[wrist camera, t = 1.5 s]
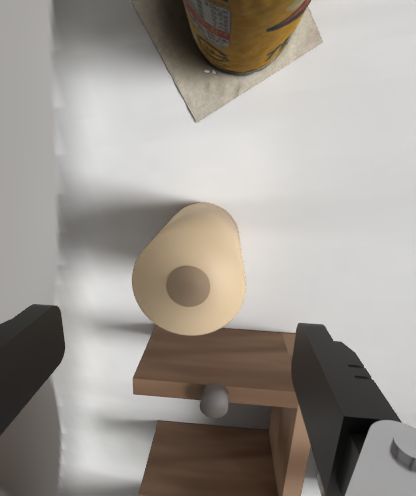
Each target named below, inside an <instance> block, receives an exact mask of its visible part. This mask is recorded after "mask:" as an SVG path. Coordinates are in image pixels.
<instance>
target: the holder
mask: <svg viewBox="0 0 416 496" xmlns="http://www.w3.org/2000/svg"><path fill="white" fill-rule="evenodd" d="M295 336H296V334H294V333H280V332H267V331H253V330H239V329H226V328H220V329H218V330H216V331H214V332H211V333H208V334H203V335H195V336H192V335H180V334H176V333H173V332H170V331H167V330H165V329H163V328H161V327H159V326H158V325H156V326H155V328H154V330H153V333H152V335H151V337H150V340H149V342H148V344H147V347H146V349H145V351H144V353H143V356H142V358H141V360H140V363H139V365H138V367H137V370H136V372H135V374H134V377H133V394H136V395H147V396H159V397H171V398H182V399H194V400H201V402H200V409H201V411H202V413H203V414H204V415H206V416H207V417H210V418H220V417H222V416H224V415H225V414H226V413H227V411H228V402H229V403H240V404H252V405H263V406H272V409H271V416H270V423H269V430H268V431H267V430H256V429H245V428H234V427H223V426H212V425H201V424H190V423H179V422H168V421H158V423H157V427H156V431H155V435H154V438H153V442H152V446H151V450H150V453H149V457H148V461H147V465H146V468H145V472H144V476H143V480H142V484H141V487H140V491H139V496H301V492H302V487H303V482H304V477H305V472H306V467H307V463H308V458H309V453H310V448H311V444H310V441H309V437H308V434H307V431H306V427H305V424H304V421H303V417H302V414H301V410H300V407H299V404H298V400H297V397H296V393H295V390H294V387H293V383H292V376H291V363H292V356H293V349H294V342H295Z"/></svg>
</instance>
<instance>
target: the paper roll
mask: <svg viewBox="0 0 416 496" xmlns="http://www.w3.org/2000/svg"><path fill="white" fill-rule="evenodd" d="M132 287H133V292H134V296H135V298H136V301H137V303H138V305H139V307H140V308H141V310H142V311H143V312H144V314H145V315H146V316H147V317H148V318H149V319H150V320H151V321H152V322H154V323H155V324H156V325H158V326H159V327H161V328H163V329H165V330H167V331H170V332H173V333H176V334H180V335H192V336H195V335H203V334H208V333H211V332H214V331H216V330H218V329H220V328H222V327H223V326H225V325H226V324H227V323H229V322H230V321H231V320H232V319H233V318H234V317H235V316H236V314H237V313H238V311H239V310H240V308H241V306H242V304H243V301H244V298H245V292H246V280H245V272H244V266H243V259H242V252H241V245H240V238H239V231H238V228H237V225H236V223H235V221H234V219H233V218H232V217H231V215H230V214H229V213H228V212H227V211H225V210H224V209H223V208H221V207H219V206H217V205H214V204H211V203H194V204H190V205H188V206H186V207H184V208H182V209H181V210H180V211H178V212H177V213H176V215H175V216H174V217H173V218H172V219H171V220H170V221H169V222H168V223H167V224H166V225H165V227H164V228H163V229H162V230H161V231H160V232H159V233H158V234H157V235H156V236H155V237H154V239H153V240H152V241H151V242H150V243H149V244H148V245H147V246H146V247H145V248H144V249H143V251H142V252H141V253H140V255H139V256H138V258H137V260H136V262H135V265H134V269H133V274H132Z"/></svg>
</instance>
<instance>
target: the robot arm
mask: <svg viewBox="0 0 416 496" xmlns="http://www.w3.org/2000/svg"><path fill="white" fill-rule="evenodd" d="M64 352H65V341H64V333H63V325H62V317H61V311H60V309H59V307H58V306H53V305H38V304H33V305H31V306H29V307H28V308H26V309H25V310H24V311H22V312H21V313H20V314H18V315H17V316H15V317H14V318H13V319H11V320H8V321H6V322H4V323H2V324H0V435H1V434H2V433H3V432H4V430H5V429H6V428H7V427H8V426H9V424H10V423H11V422H12V421H13V420H14V418H15V417H16V416H17V415H18V414H19V412H20V411H21V410H22V409H23V407H24V406H25V405H26V404H27V403H28V402H29V400H30V399H31V398H32V397H33V395H34V394H35V393H36V392H37V391H38V390H39V388H40V387H41V386H42V385H43V383H44V382H45V381H46V380H47V379H48V378H49V376H50V375H51V374H52V373H53V372H54V370H55V369H56V368H57V367H58V366H59V364H60V363H61V361H62V358H63V356H64ZM291 376H292V383H293V387H294V390H295V393H296V397H297V400H298V404H299V407H300V410H301V414H302V417H303V421H304V424H305V427H306V431H307V434H308V437H309V441H310V444H311V448H312V451H313V454H314V458H315V461H316V465H317V468H318V471H319V475H320V478H321V482H322V485H323V488H324V492H325V495H326V496H416V429H415V428H413V427H411V426H409V425H406V424H404V423H402V422H401V421H400V419H399V418H398V416H397V415H396V413H395V412H394V410H393V409H392V407H391V406H390V404H389V403H388V401H387V400H386V398H385V397H384V395H383V394H382V392H381V391H380V389H379V388H378V386H377V385H376V383H375V382H374V380H372V379H371V376H370V374H369V373H368V371H367V370H366V368H364V365H363V364H362V362H361V361H360V359H359V358H358V356H357V355H356V353H355V352H353V351H352V350H351V349H350V348H348V347H347V346H346V345H345V344H343V343H342V342H337V341H333V339H332V338H331V336H330V334H329V333H328V331H327V329H326V328H325V326H324V325H322V324H308V323H299V324H298V326H297V329H296V336H295V342H294V349H293V356H292V363H291Z"/></svg>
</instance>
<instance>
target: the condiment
mask: <svg viewBox="0 0 416 496" xmlns="http://www.w3.org/2000/svg"><path fill="white" fill-rule="evenodd" d="M310 2H311V0H135V1H134V2H133V3H132V4H133V6H134V7H135V9H136V11H137V13H138V15H139V17H140V18H141V20H142V22H143V24H144V26H145V28H146V30H147V31H148V33H149V35H150V37H151V39H152V41H153V42H154V44H155V46H156V48H157V50H158V52H159V54H160V55H161V57H162V59H163V61H164V63H165V65H166V67H167V68H168V70H169V72H170V74H171V75H172V77H173V80H174V81H175V83H176V85H177V87H178V88H179V91H180V92H181V94H182V96H183V98H184V100H185V102H186V104H187V105H188V107H189V109H190V111H191V113H192V115H193V117H194V118H195V120H196V122H199V121H200V120H202V119H203V118H205V117H206V116H208V115H209V114H211V113H213V112H214V111H216V110H217V109H219V108H220V107H222V106H223V105H225V104H227V103H228V102H230V101H231V100H233V99H235V98H236V97H238V96H239V95H241V94H242V93H244V92H246V91H247V90H249V89H250V88H252V87H254V86H255V85H257V84H258V83H260V82H262V81H263V80H265V79H266V78H268V77H269V76H271V75H272V74H274V73H276V72H277V71H279V70H280V69H282V68H283V67H285V66H287V65H288V64H290V63H291V62H293V61H294V60H296V59H297V58H299V57H301V56H302V55H304V54H305V53H307V52H309V51H310V50H312V49H313V48H315V47H316V46H318V45H319V44H321V43H322V42H323V40H322V38H321V36H320V33H319V31H318V28H317V26H316V23H315V21H314V19H313V17H312V14H311V11H310V9H309V8H308V5H309V3H310ZM204 70H209V71H210V73H205V72H204ZM212 70H214V71H216V74H213V73H212Z"/></svg>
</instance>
